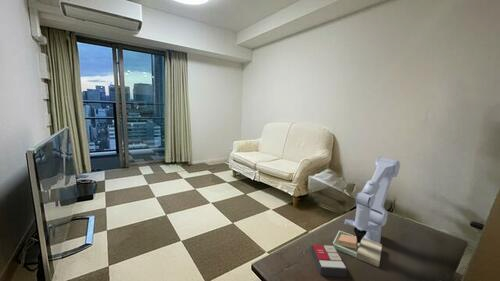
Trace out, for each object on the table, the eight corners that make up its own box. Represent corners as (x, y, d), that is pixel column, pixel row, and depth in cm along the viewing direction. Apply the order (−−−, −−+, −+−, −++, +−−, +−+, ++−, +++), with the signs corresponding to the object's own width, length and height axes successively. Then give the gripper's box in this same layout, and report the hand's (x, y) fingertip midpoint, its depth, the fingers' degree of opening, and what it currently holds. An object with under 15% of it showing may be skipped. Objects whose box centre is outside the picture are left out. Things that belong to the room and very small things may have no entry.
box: (338, 233, 113) (339, 230, 113) (360, 242, 107) (361, 238, 106) (331, 247, 102) (332, 243, 102) (356, 257, 96) (356, 253, 95)
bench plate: (360, 242, 107) (361, 237, 106) (381, 249, 102) (382, 244, 101) (356, 257, 96) (357, 252, 95) (378, 267, 91) (379, 261, 90)
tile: (341, 238, 108) (341, 234, 108) (358, 242, 104) (357, 237, 103) (338, 244, 104) (338, 240, 104) (356, 248, 99) (355, 243, 99)
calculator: (334, 244, 99) (347, 267, 84) (333, 252, 100) (346, 277, 85) (311, 243, 100) (321, 266, 85) (310, 251, 100) (320, 275, 85)
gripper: (344, 215, 99) (341, 240, 102) (379, 226, 91) (374, 253, 93) (347, 209, 105) (344, 233, 107) (380, 219, 97) (376, 244, 99)
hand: (358, 242), depth 101 cm, fingers closed
